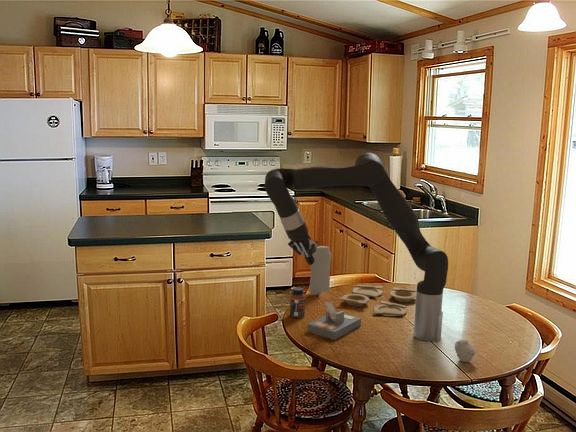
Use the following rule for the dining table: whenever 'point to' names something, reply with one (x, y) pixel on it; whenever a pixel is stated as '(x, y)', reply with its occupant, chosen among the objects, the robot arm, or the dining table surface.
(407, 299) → the tableware set
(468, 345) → the frog figurine
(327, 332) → the switch block
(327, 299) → the breaker lever
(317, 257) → the tall pale column
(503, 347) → the dining table surface
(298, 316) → the supplement bottle
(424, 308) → the robot arm
